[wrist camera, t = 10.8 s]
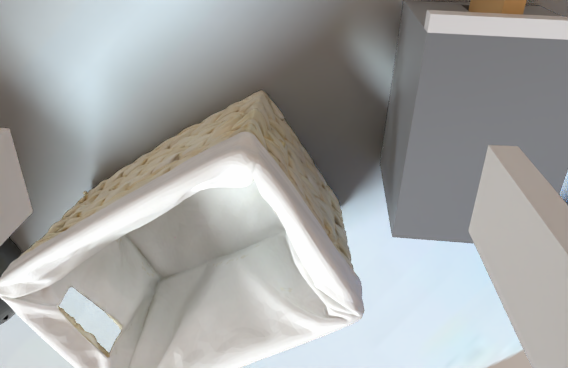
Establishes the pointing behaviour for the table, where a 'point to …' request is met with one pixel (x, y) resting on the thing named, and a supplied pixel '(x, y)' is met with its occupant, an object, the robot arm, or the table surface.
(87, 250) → the storage basket
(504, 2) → the ticket
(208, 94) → the table surface
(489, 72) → the box
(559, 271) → the robot arm
